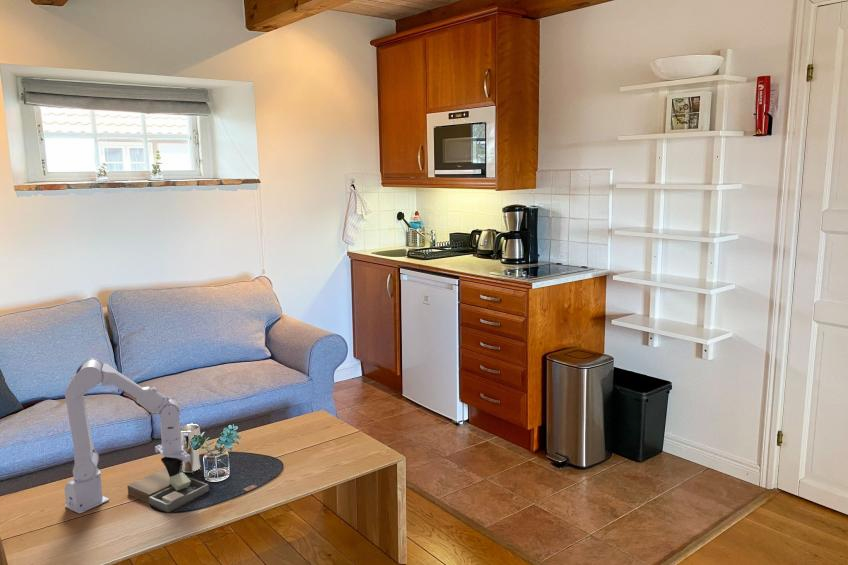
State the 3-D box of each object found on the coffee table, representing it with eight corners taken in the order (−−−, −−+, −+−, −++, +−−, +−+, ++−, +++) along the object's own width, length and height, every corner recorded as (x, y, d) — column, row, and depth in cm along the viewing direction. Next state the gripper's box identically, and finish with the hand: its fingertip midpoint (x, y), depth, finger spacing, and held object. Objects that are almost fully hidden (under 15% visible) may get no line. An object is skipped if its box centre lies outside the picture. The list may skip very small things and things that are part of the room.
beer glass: (175, 471, 218) (173, 429, 216) (192, 463, 224) (190, 422, 222) (190, 476, 215) (187, 433, 212) (206, 468, 221) (204, 426, 218)
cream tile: (162, 497, 196) (162, 503, 197) (171, 501, 194) (172, 507, 194) (174, 491, 200) (175, 497, 201) (184, 494, 198) (184, 501, 198)
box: (168, 512, 192) (167, 505, 192) (149, 504, 197) (148, 497, 196) (209, 491, 205) (208, 484, 204) (190, 484, 209) (190, 477, 209)
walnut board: (150, 503, 197) (149, 494, 197) (128, 494, 203) (127, 485, 203) (188, 484, 209) (188, 476, 208) (166, 476, 215) (166, 467, 214)
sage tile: (176, 490, 202) (178, 486, 201) (168, 481, 204) (170, 476, 203) (189, 485, 205) (190, 480, 205) (181, 476, 207) (182, 471, 207)
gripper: (197, 438, 203) (199, 478, 206) (167, 428, 211) (170, 467, 213) (178, 446, 197) (181, 487, 200) (148, 435, 205) (151, 476, 207)
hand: (174, 477), depth 206 cm, fingers closed
